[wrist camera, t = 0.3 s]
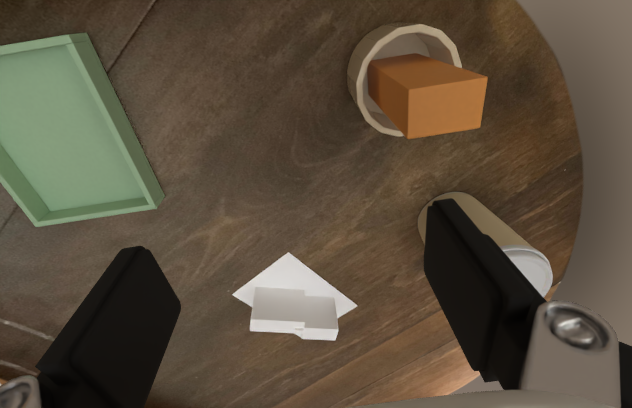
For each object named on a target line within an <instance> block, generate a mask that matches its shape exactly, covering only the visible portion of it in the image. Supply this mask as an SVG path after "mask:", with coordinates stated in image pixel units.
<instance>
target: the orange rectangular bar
mask: <svg viewBox="0 0 632 408" xmlns="http://www.w3.org/2000/svg"><path fill="white" fill-rule="evenodd" d="M367 77H368V95H369V96H370V97H371V98H372V100H373V101H374V102H375V103H376V104H377V105H378V106H379V107H380V109H381V110H382V111H383V112H384V113H385V114H386V115H387V116H388V118H389V119H390V120H391V121H392V122H393V123H394V124H395V126H396V127H397V128H398V129H399V130H400V131H401V132H402V133H403V135H404V136H405V137H406V138H407V139H412V138H419V137H425V136H432V135H438V134H444V133H451V132H457V131H464V130H470V129H476V128H480V124H481V118H482V111H483V104H484V98H485V91H486V84H487V77H486V76H483V75H480V74H477V73H474V72H471V71H468V70H465V69H462V68H459V67H456V66H453V65H450V64H447V63H444V62H441V61H439V60H436V59H433V58H430V57H427V56H424V55H421V54H418V53H413V54H407V55H401V56H394V57H388V58H382V59H376V60H371V61H370V63H369V64H368V67H367Z"/></svg>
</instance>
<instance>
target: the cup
mask: <svg viewBox="0 0 632 408" xmlns="http://www.w3.org/2000/svg"><path fill="white" fill-rule="evenodd" d="M413 53H418V54H421V55H424V56H427V57H430V58H433V59H436V60H439V61H441V62H444V63H447V64H450V65H453V66H456V67H459V68H462V65H461V62H460V58H459V55H458V52H457V48H456V46H455V44H454V43H453V42H452V41H451V40H450V39H449V38H448V37H447V36H446V35H445V34H444V33H443V32H442V31H441V30H439V29H436V28H432V27H429V26H426V25H423V24H415V23H405V22H398V23H390V24H385V25H382V26H380V27H377V28H376V29H374V30H372V31H371V32H369V33H368V34H367V35H366V36H365V37H364V38H363V39H362V40H361V41H360V42H359V43H358V44H357V46H356V48H355V49H354V51H353V53H352V55H351V58H350V60H349V64H348V68H347V84H348V90H349V93H350V95H351V97H352V99H353V101H354V103H355V105H356V106H357V108H358V109H359V111H360V112H361V114H362V116H363V117H364V119H365V120H366V121H367V122H368V123H369V124H370V125H372V126H373V127H374V128H375V129H377V130H378V131H379V132H381V133H385V134H389V135H393V136H398V137H399V136H404V135H403V133H402V132H401V131H400V130H399V129H398V128H397V127H396V126H395V124H394V123H393V122H392V121H391V120H390V119H389V118H388V116H387V115H386V114H385V113H384V112H383V111H382V110H381V109H380V107H379V106H378V105H377V104H376V103H375V102H374V101H373V100H372V98H371V97H370V96H369V95H368V77H367V67H368V64H369V63H370V61H371V60H376V59H382V58H388V57H394V56H401V55H407V54H413Z"/></svg>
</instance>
